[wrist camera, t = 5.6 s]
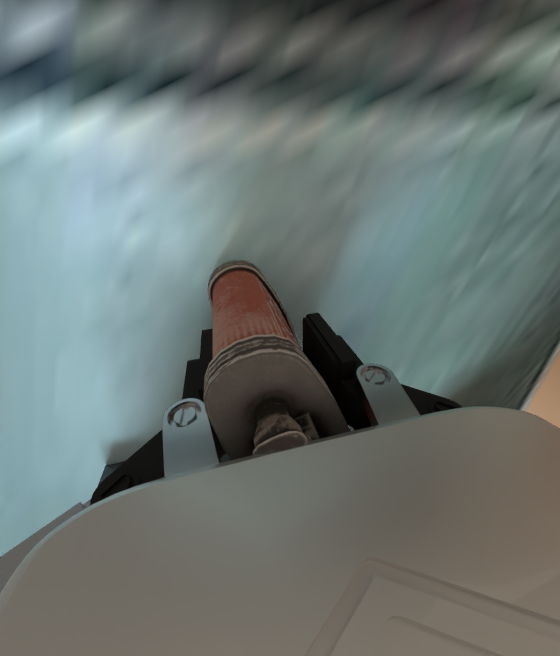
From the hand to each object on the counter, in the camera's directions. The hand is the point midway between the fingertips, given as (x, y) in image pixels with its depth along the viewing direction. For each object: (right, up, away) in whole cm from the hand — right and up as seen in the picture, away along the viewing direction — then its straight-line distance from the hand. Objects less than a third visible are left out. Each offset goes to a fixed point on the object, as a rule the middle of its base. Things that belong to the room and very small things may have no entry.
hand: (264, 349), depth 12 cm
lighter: (0, +1, +2) cm, 2 cm away
